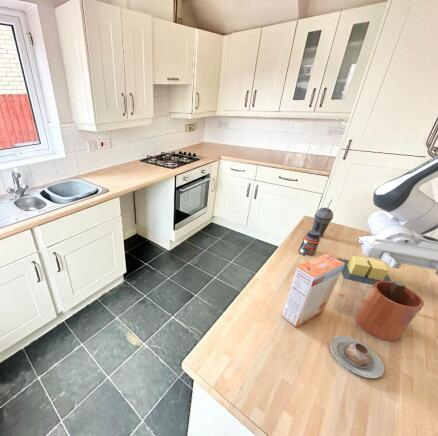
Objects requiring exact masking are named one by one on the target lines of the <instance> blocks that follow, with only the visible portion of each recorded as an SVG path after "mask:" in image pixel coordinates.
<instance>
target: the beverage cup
mask: <svg viewBox="0 0 438 436" xmlns="http://www.w3.org/2000/svg"><path fill="white" fill-rule="evenodd" d="M332 202H333V199H330V201H329V203H328V205H327V207H321V208H318V209H317V210H316V211H315V213H314V219H313V224H312V228H311V230H315V231H317V232H319V233H320V234H319V238H322V237H323V236H324V234H325V232H326V231H327V228H328V226H329V225H330V223H331V221H332V220H333V219H334V213H333V211H332V209H330V206H331V203H332Z"/></svg>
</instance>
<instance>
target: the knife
mask: <svg viewBox="0 0 438 436" xmlns="http://www.w3.org/2000/svg"><path fill="white" fill-rule="evenodd" d="M392 282H393V283H392V284H391V286H390V288H389V290H388V292H387V294H386V296H385V297H387V298H388V299H390V300H392V301H394V302H396V303H397V301H398V300H399V298H400V296H401V294H402V293H403V291H404V289H405V287H407V286H406V285H405V284H404V282H402V281H398V280H392Z"/></svg>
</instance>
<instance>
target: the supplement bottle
mask: <svg viewBox="0 0 438 436" xmlns="http://www.w3.org/2000/svg"><path fill="white" fill-rule="evenodd" d="M319 234H320V233H319V232H317V231H315V230H312V229H310V230H308V232H307V233H305V234H304V236H303V237H302V241H301V244H300V246H299V250H298V252H299V254H300V255H302V256H304V257H305V256H307V257H308V256H309V257H312V256H314V255H315V253H316V251H317V249H318V246H319V244H320V243H321V242H320V241H321V237H319Z"/></svg>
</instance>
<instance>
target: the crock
mask: <svg viewBox="0 0 438 436" xmlns="http://www.w3.org/2000/svg"><path fill="white" fill-rule="evenodd" d="M392 283H393V281H392V282H389V281H378V282H376V283H375V284H374V285H372V287H371V289H370V291H369V293H368V294H367V296H366V298H365V300H364V301H363V303H362V305H361V306H360V308H359V310H358V312H357V313H356V316H355V320H356V322H357V325H359V327H360V328H361V329H362V330H363V331H364V332H366V333H367V334H369V335H371V336H372V337H375V338H377V339H379V340H382V341H386V342H395V341H397V340H399V338H400V337H402V336H403V334H404V333H405V331H406V330H407V328H408V327H409V326H410V325H411V323H412V322H413V321H414V319H415V318H416V317H417V315H418V313H420V311H421V310H422V309H423V308H424V306H425V303H424V302H425V301H424V300H423V298H422V297H421V296H420V295H419V294H418V293H417V292H416V291H413V290H412V289H410V288H409V287H407V286H406V287H405V289H404V291H403V293H402V294H401V296H400V298H399V300H398V301H397V303H396V302H394V301H392V300H390V299H388V298H387V297H385V296H386V294H387V292H388V290H389V288H390V286H391V284H392Z"/></svg>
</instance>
